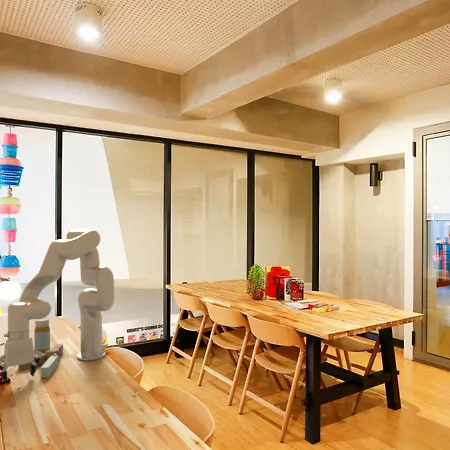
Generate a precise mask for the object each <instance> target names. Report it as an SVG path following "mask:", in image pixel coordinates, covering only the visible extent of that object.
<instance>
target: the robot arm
mask: <svg viewBox="0 0 450 450" xmlns="http://www.w3.org/2000/svg"><path fill="white" fill-rule="evenodd" d="M100 243H101V235H100V233H99V232H98V231H97V230H95V229H87V228H86V229H85V228H81V229H80V228H79V229H77V228H76V229H71V230H69V231H68V232H67V234H66V239H56V240H53V241H52V242H50V244H49V246H48V249H47V251H46V253H45V256H44V259H43V261H42V264H41V266H40V269H39V271H38V273H37V274H36V275H34V276H33V278H32V279H30V281H29V282H28V283H27V284H26V286H25V287H24V289H23V291H22V293H21V296H20V298H19V300H18V302H12V303H10V304H8V306H7V332H6V333H3V338H6V339H5V343H4V350H3V354H2V355H1V356H0V362H2V361H3V365H1V364H0V371H1V380H3V381H4V382H5V383H7V382H8V371H7V370H8V368H9V367H15V366H18V365H22V364H27V363H31V365H30V368H29V369H30V372H29V373H30V376H31V377H34V376H35V374H36V367H35V366H36V364H37V363H38V362H39V361H40V358H41V356H42V354H43V353H44V352H39V351H36V350H35V349H34V341H33V336H31V335H30V320H37V319H42V318H46V317H48V316H49V315H50V313H51V311H52V305H51V304H50V303H49V302H48V301H47V300H44V299H39V296H40V294H41V293H42V291H43V290H44V289H45V288H47V287H48V286H49V285H51V284H53V283H55V282H57V281H58V280H59V279H60V278H61V275H62V272H63V269H64V267H65V264H66V261H75V260H77V259H79V264H80V265H79V267H80V281H81V283H82V284H83V285H85V286H88V287H89V288H84V289H83V290H81V292H79V295H78V296H77V299H78V300H77V301H78V309H79V316H80V352H79V353H77V356H76V358H77V359H78V360H80V361H84V362H85V361H86V362H87V361H89V362H90V361H95V360H100V359H103V358H105V357H106V354H107V353H106V351H104V349H106V348H108V347H109V344H108V343H107V342H106V343H103V315H102V312H107V311H109V310H111V309H112V308H113V306H114V302H115V278H114V274H113V271H112V269H110V268H109V267H108V266H103V265H101V263H100V254H99V250H98V248H97V247H98V246H99V245H100ZM90 287H91V288H90ZM92 287H94V288H92ZM34 355H38V356H37V358H36V359H35V360H34Z"/></svg>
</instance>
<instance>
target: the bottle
mask: <svg viewBox="0 0 450 450" xmlns="http://www.w3.org/2000/svg"><path fill="white" fill-rule="evenodd" d="M34 323H35V325H34V327H35V328H34V330H33V331H34V337H33V339H34V341H33V349H34V350H36V351H39V352H42V353H45V351H47V350H51V327H50V318H48V317H47V318H46V317H45V318H42V319H34Z"/></svg>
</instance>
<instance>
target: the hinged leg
mask: <svg viewBox="0 0 450 450" xmlns="http://www.w3.org/2000/svg"><path fill="white" fill-rule="evenodd" d="M58 366H59V363H58V356H56V353H54V354H53V356H51V357H50V358H49V359H48V360H47V361H46V362H45V363H44V365H43V366H40V378H42V379H43V378H49V377H50V376H51V375H52V374H53V372H54V371H55V370H56V369H57V368H58Z"/></svg>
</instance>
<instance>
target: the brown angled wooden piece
mask: <svg viewBox="0 0 450 450" xmlns="http://www.w3.org/2000/svg"><path fill="white" fill-rule="evenodd" d="M42 353H43V354H42V356H41V358H40V361H39V362H38V363H37V364H36V366H35V368H37V367H42V366H43V365H44V363H45V362H46V361H47V360H48V359H49V358H50V357H51V356H53V354H54V353H56V356H58V364H59V363H60V357H61V356H62V355H63V353H64V344H63V343H56V344H55V345H54V346H53V347H52V349H51V348H50V349H49V350H47V351H45V352H42ZM37 356H38V355H37V354H34V360H35V359H36V358H37ZM30 365H31V363H27V364H22V365H17V366H18V369H19V371H23V370H27V369H30Z"/></svg>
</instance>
